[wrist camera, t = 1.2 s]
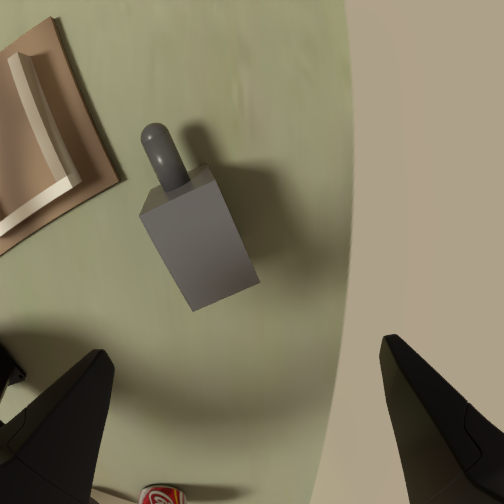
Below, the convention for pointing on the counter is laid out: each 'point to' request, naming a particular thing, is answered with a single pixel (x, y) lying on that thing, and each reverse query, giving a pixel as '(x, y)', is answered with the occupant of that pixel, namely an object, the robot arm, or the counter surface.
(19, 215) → the holder
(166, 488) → the soda can
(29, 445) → the robot arm
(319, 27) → the counter surface
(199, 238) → the plug
